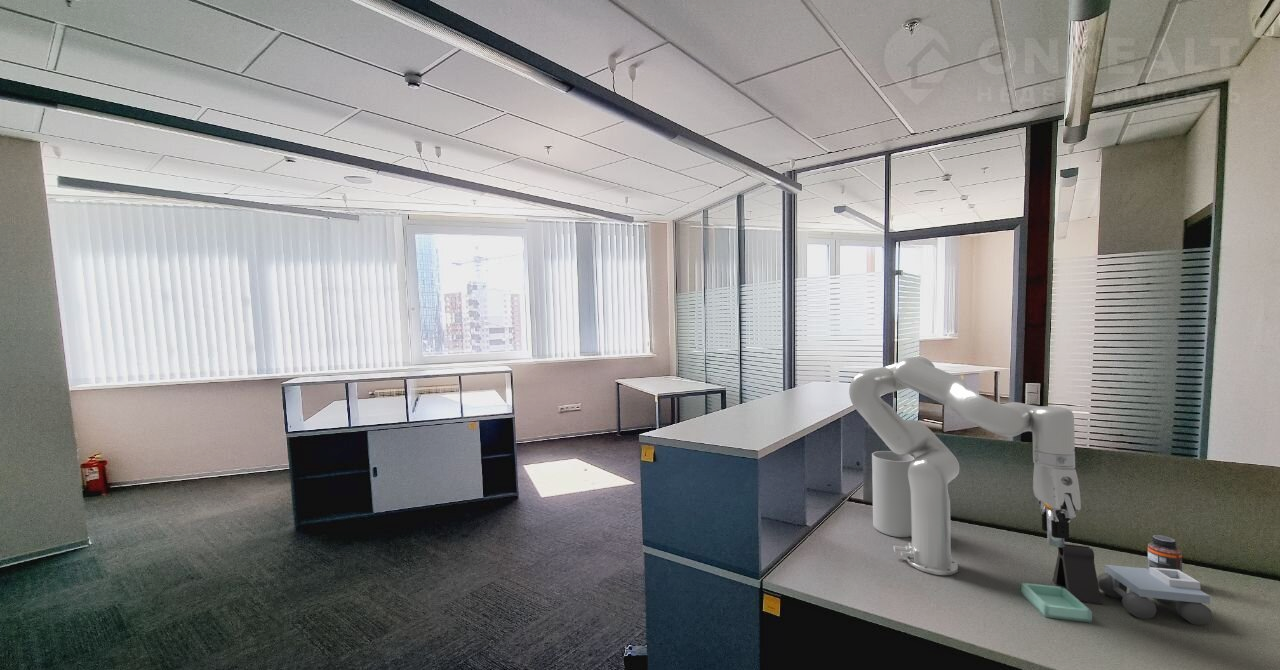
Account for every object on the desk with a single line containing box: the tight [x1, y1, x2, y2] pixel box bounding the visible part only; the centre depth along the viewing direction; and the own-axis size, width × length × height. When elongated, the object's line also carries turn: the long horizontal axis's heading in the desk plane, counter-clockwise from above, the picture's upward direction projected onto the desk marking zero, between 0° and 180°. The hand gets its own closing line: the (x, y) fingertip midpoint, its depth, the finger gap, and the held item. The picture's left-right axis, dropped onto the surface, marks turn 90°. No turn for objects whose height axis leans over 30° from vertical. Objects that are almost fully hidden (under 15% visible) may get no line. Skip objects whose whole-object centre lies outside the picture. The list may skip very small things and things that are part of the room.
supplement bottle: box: [1147, 534, 1183, 572], centre depth 119 cm, size 6×6×11 cm
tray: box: [1020, 582, 1093, 623], centre depth 109 cm, size 9×10×3 cm
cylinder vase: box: [871, 450, 915, 538], centre depth 152 cm, size 12×12×25 cm
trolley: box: [1097, 564, 1213, 626], centre depth 108 cm, size 11×15×9 cm
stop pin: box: [1043, 502, 1065, 548], centre depth 109 cm, size 4×4×10 cm
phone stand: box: [1052, 543, 1103, 605], centre depth 115 cm, size 9×6×12 cm, turn 159°
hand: (1055, 533), depth 109 cm, fingers closed on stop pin, 3 cm apart
